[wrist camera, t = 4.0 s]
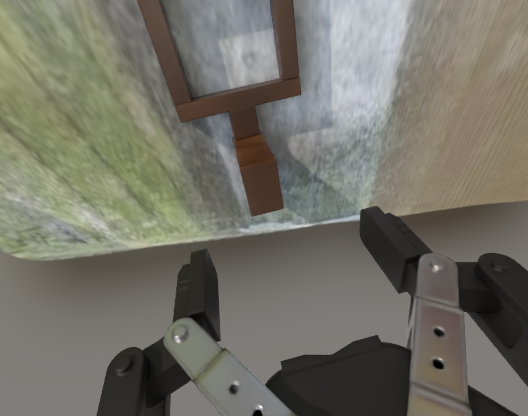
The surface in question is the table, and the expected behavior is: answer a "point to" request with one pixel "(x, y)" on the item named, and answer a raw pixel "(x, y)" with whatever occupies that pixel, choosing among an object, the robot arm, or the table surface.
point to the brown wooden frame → (235, 100)
